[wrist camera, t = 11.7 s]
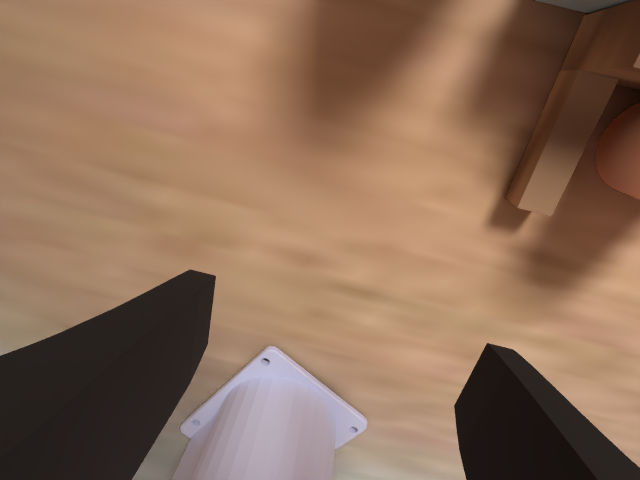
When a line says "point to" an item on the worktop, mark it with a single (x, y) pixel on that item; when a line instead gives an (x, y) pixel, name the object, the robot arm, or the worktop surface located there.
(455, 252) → the worktop surface
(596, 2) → the backstop board
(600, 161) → the pink egg shape
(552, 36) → the worktop surface
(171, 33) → the worktop surface
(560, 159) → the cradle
